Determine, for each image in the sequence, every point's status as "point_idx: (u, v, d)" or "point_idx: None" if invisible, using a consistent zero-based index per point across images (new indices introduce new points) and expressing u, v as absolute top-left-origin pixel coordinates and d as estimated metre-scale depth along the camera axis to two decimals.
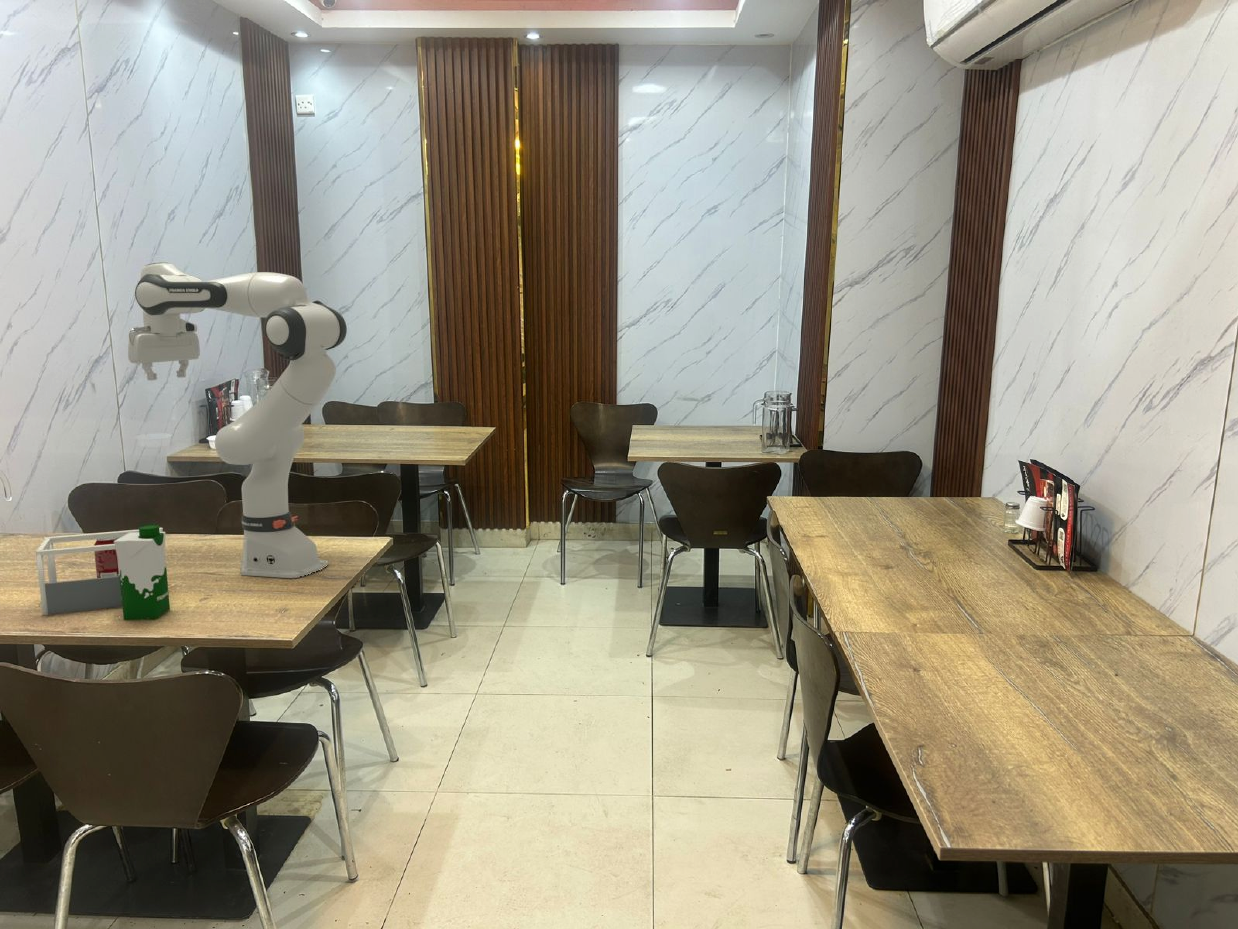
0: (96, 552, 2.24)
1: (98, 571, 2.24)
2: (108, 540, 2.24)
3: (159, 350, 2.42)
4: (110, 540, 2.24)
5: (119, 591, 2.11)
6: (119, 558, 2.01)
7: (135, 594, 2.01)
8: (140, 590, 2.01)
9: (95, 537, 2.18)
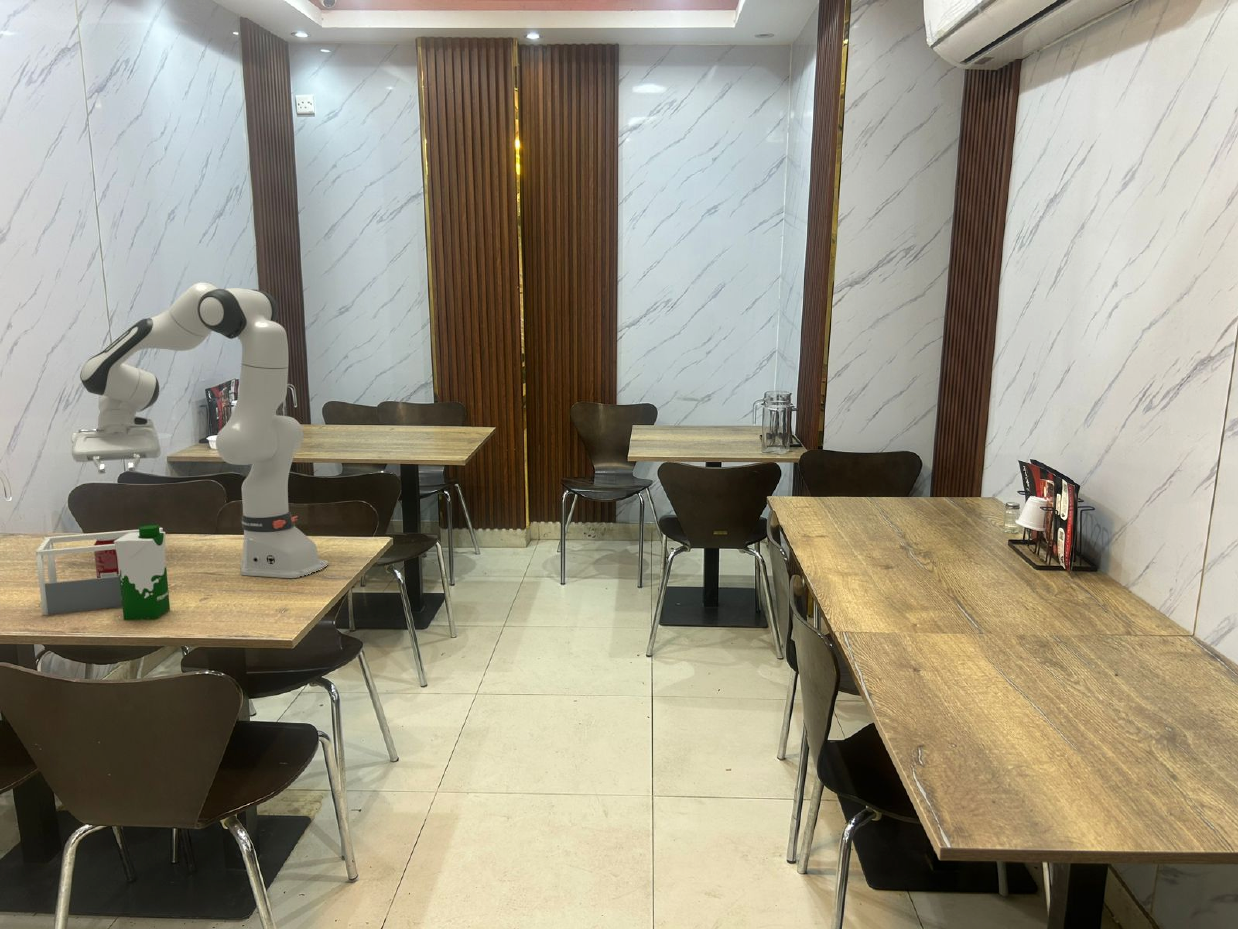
0: (96, 552, 2.24)
1: (98, 571, 2.24)
2: (108, 540, 2.24)
3: (101, 443, 2.39)
4: (110, 540, 2.24)
5: (119, 591, 2.11)
6: (119, 558, 2.01)
7: (135, 593, 2.01)
8: (140, 590, 2.01)
9: (95, 537, 2.18)
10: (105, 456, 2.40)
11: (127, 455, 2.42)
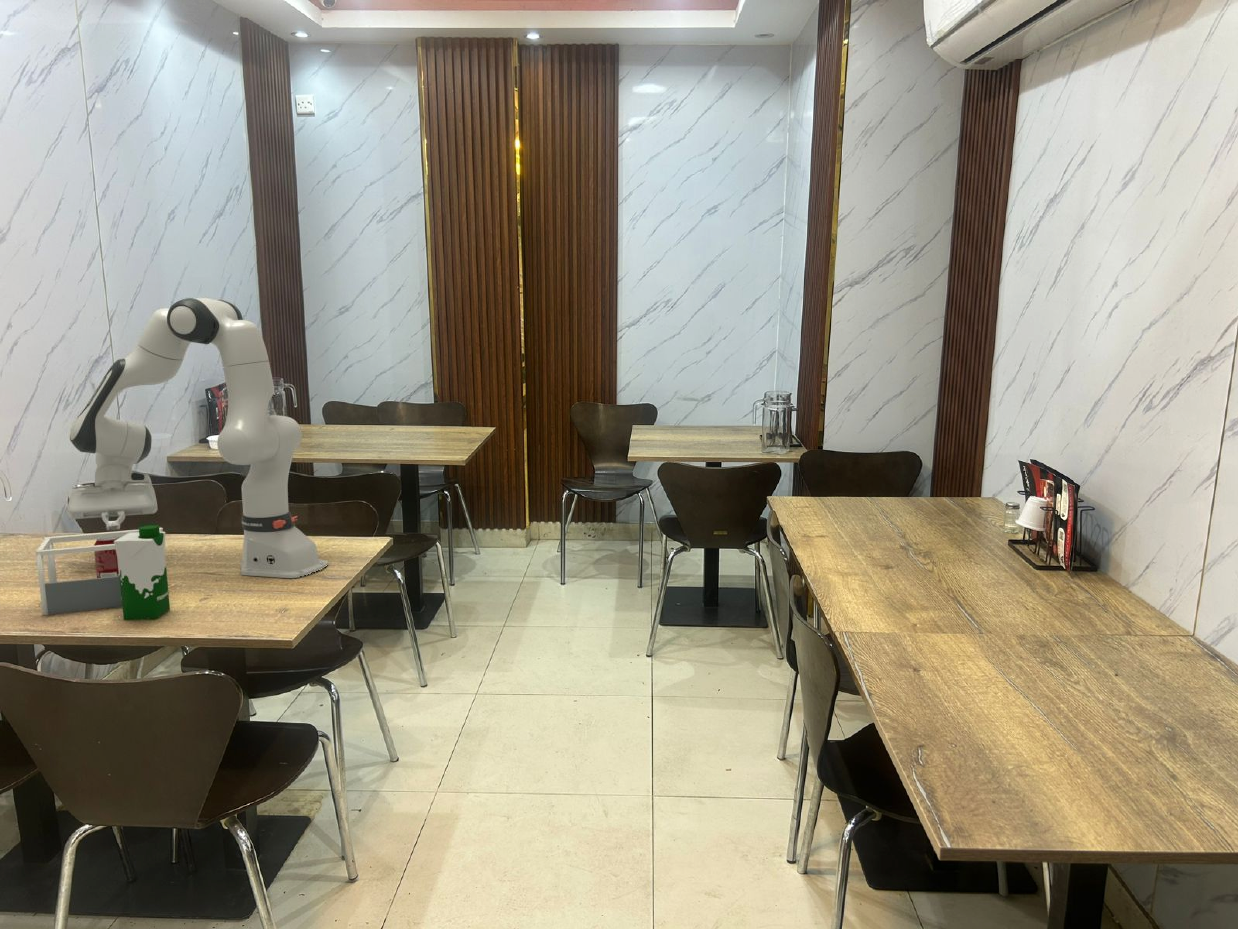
0: (96, 552, 2.24)
1: (98, 571, 2.24)
2: (108, 540, 2.24)
3: (98, 500, 2.37)
4: (110, 540, 2.24)
5: (119, 591, 2.11)
6: (119, 558, 2.01)
7: (135, 594, 2.01)
8: (140, 590, 2.01)
9: (95, 537, 2.18)
10: (101, 512, 2.38)
11: (124, 511, 2.40)
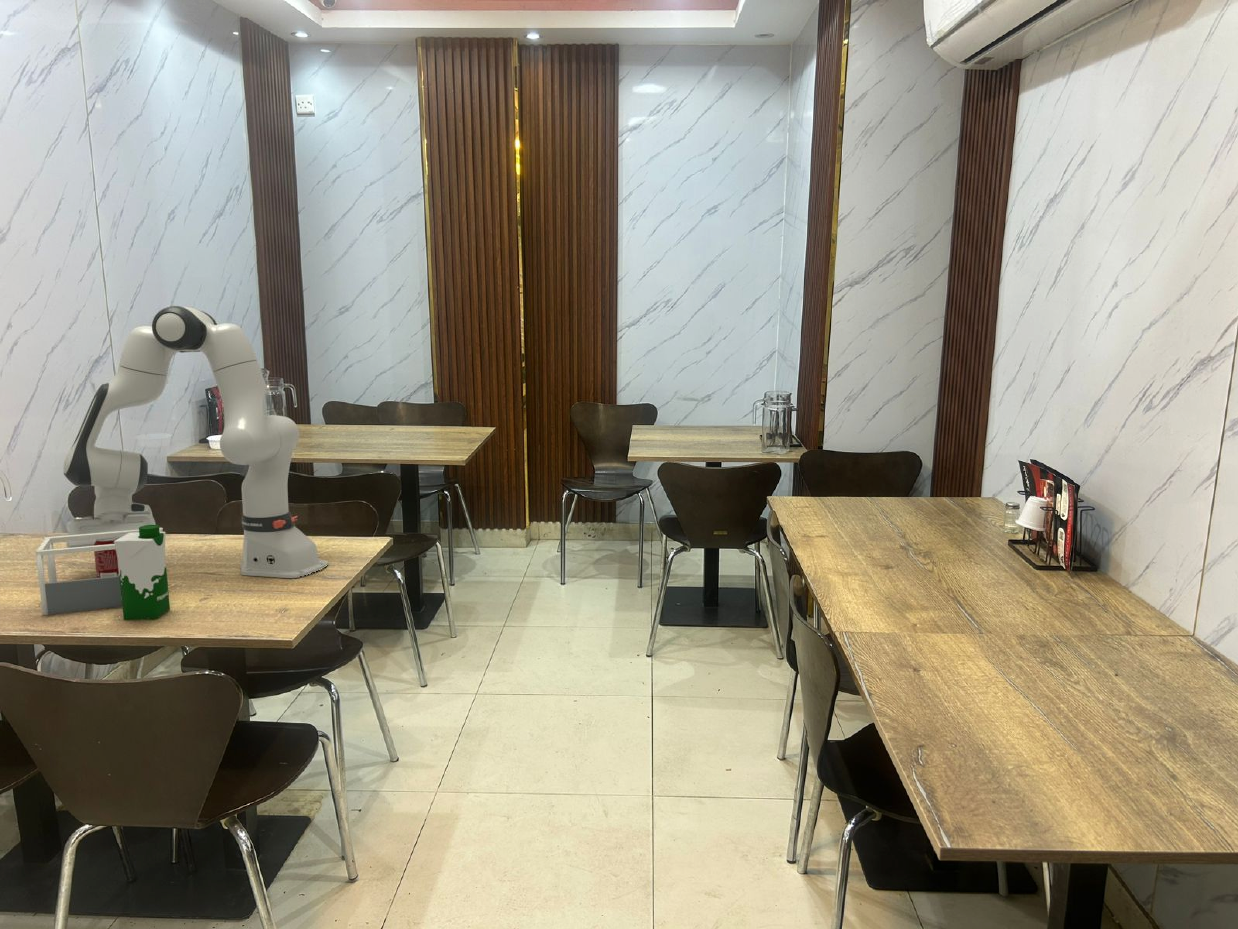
0: (96, 552, 2.23)
1: (98, 571, 2.24)
2: (108, 541, 2.23)
3: None
4: (110, 541, 2.23)
5: (119, 591, 2.11)
6: (119, 558, 2.01)
7: (135, 594, 2.01)
8: (140, 590, 2.01)
9: (95, 537, 2.18)
10: None
11: None
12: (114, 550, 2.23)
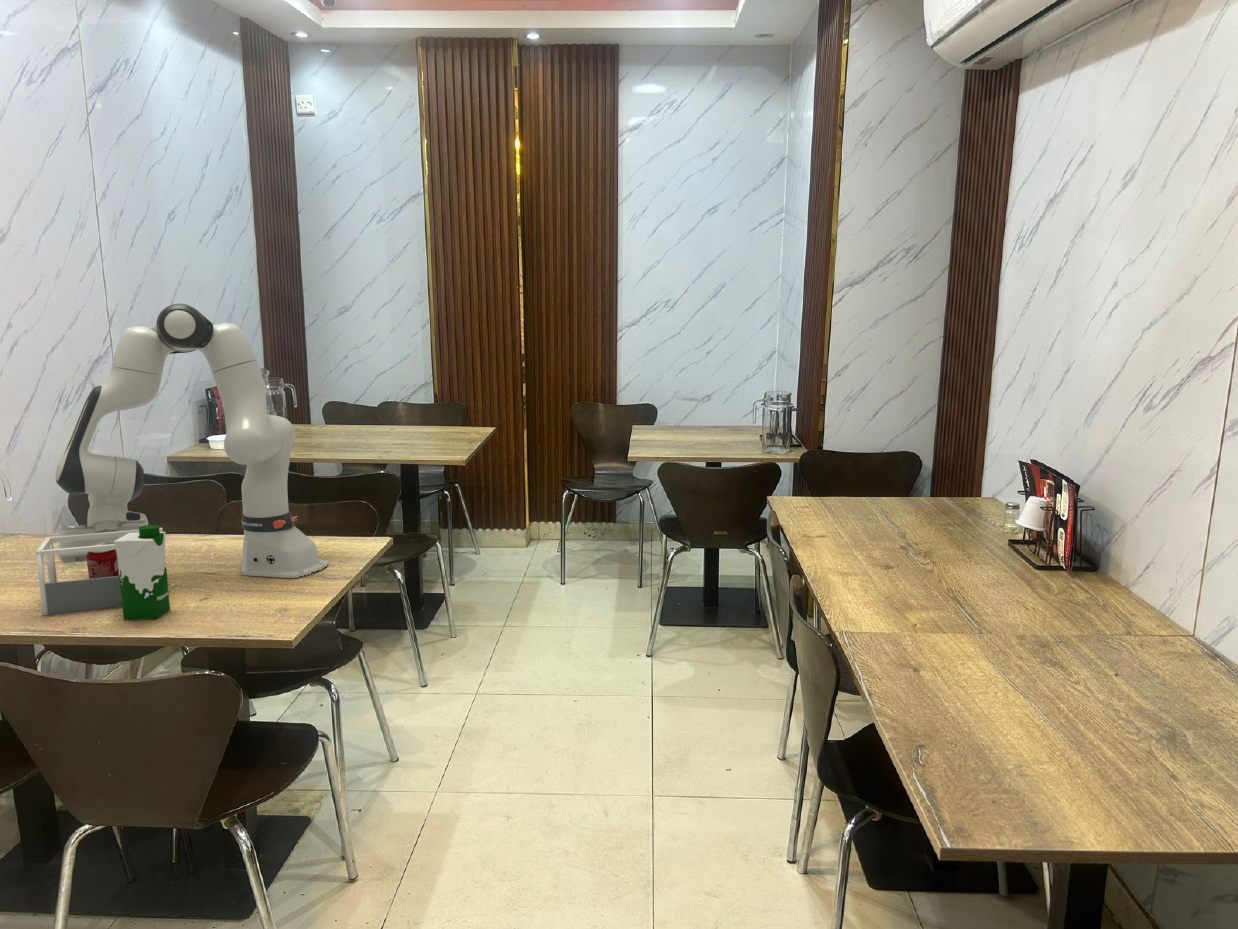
0: (89, 563, 2.14)
1: None
2: (101, 552, 2.13)
3: (90, 543, 2.21)
4: (103, 552, 2.13)
5: (119, 591, 2.11)
6: (119, 558, 2.01)
7: (135, 594, 2.01)
8: (140, 590, 2.01)
9: (95, 537, 2.18)
10: None
11: None
12: (108, 562, 2.14)
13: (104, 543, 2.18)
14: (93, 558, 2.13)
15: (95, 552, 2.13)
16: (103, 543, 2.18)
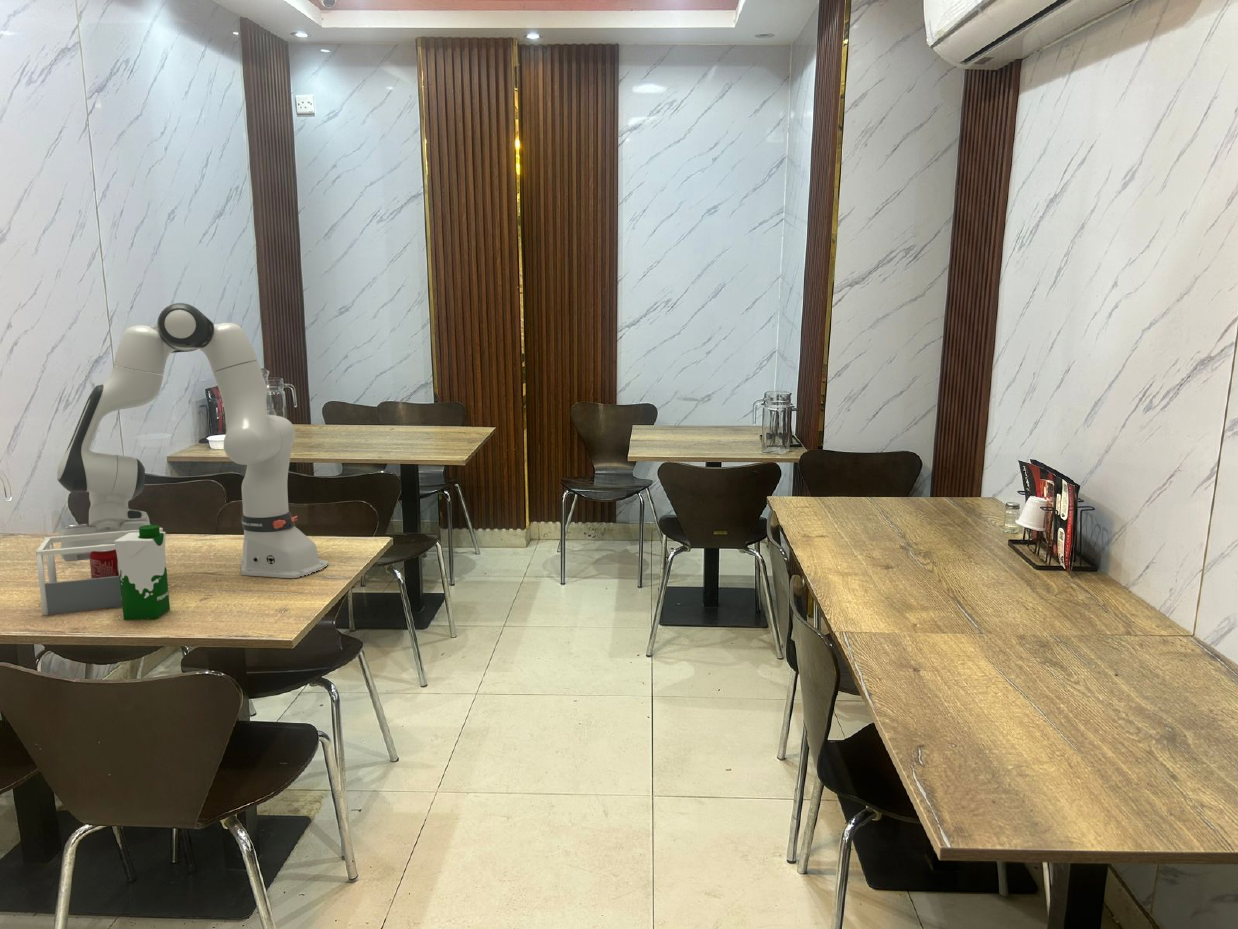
0: (92, 563, 2.14)
1: None
2: (105, 551, 2.14)
3: (92, 541, 2.22)
4: (107, 551, 2.14)
5: (119, 591, 2.11)
6: (119, 558, 2.01)
7: (135, 593, 2.01)
8: (140, 590, 2.01)
9: (95, 537, 2.18)
10: None
11: None
12: (111, 561, 2.14)
13: (107, 543, 2.18)
14: (96, 557, 2.13)
15: (98, 551, 2.13)
16: (106, 544, 2.18)
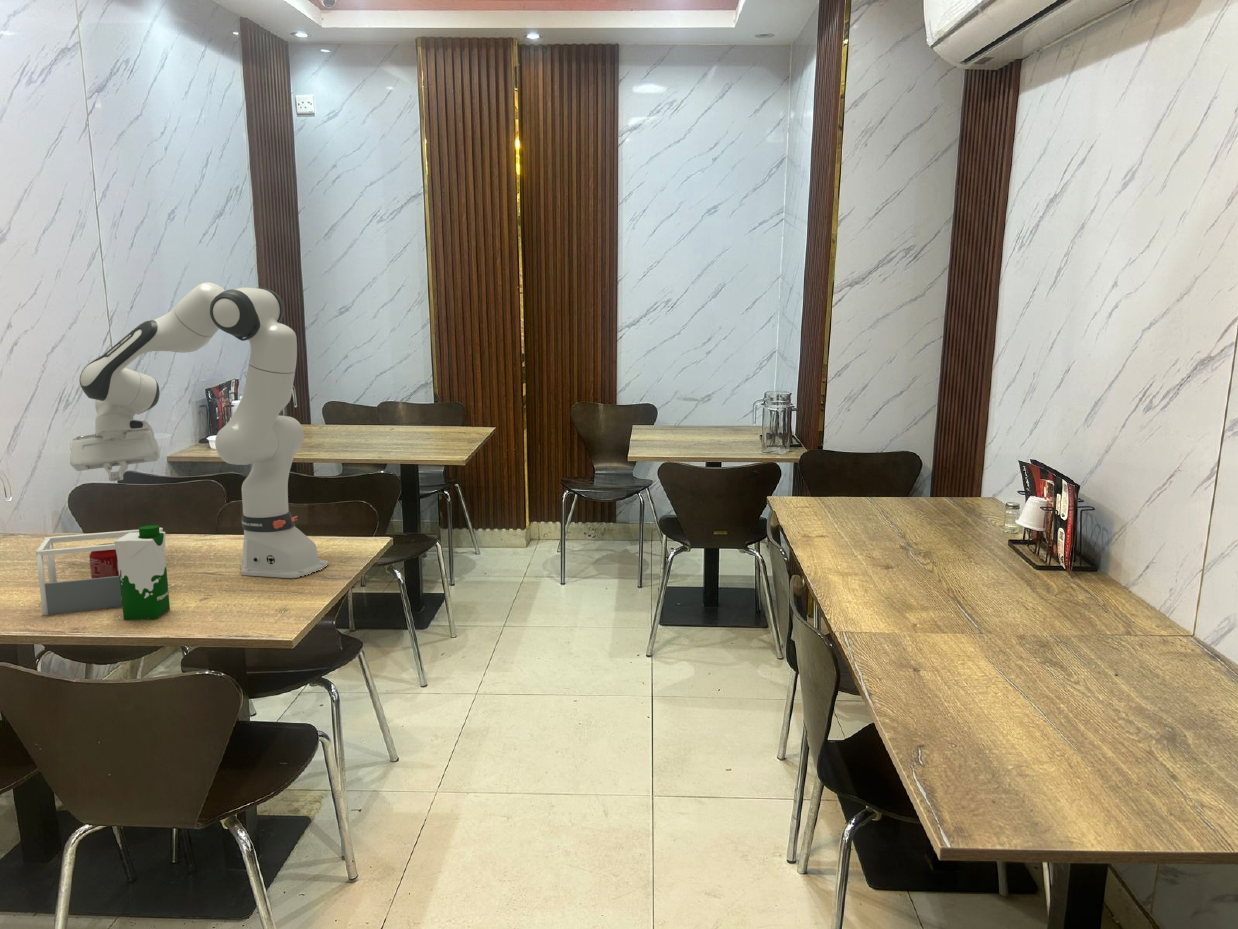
0: (92, 562, 2.15)
1: None
2: (104, 550, 2.15)
3: (99, 451, 2.35)
4: (107, 550, 2.15)
5: (119, 591, 2.11)
6: (119, 558, 2.01)
7: (135, 594, 2.01)
8: (140, 590, 2.01)
9: (95, 537, 2.18)
10: None
11: (126, 460, 2.38)
12: (111, 560, 2.15)
13: (107, 544, 2.20)
14: (96, 556, 2.14)
15: None
16: None
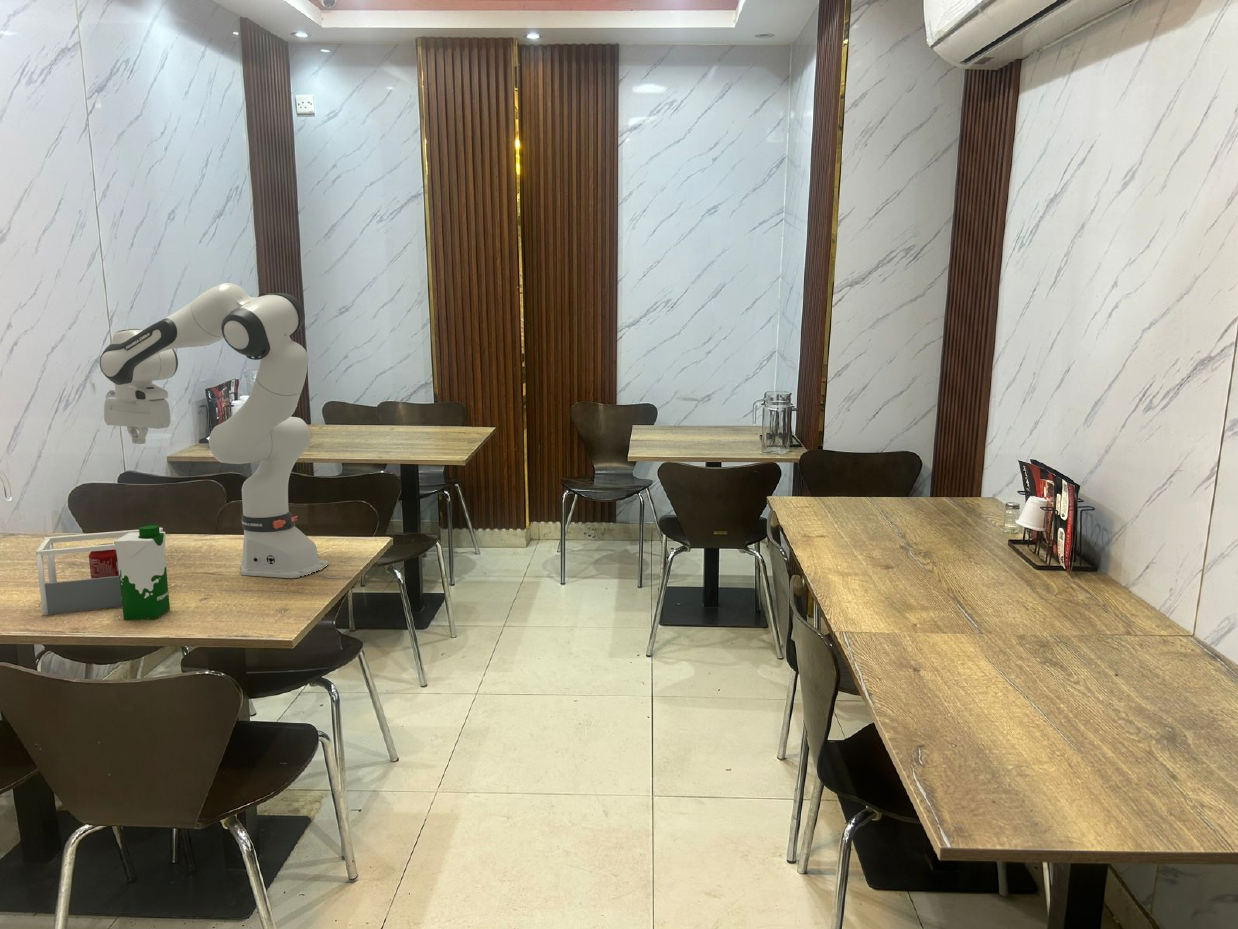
0: (91, 563, 2.15)
1: None
2: (104, 550, 2.15)
3: (121, 415, 2.44)
4: (106, 550, 2.15)
5: (119, 591, 2.11)
6: (119, 558, 2.01)
7: (135, 594, 2.01)
8: (140, 590, 2.01)
9: (95, 537, 2.18)
10: None
11: None
12: (110, 560, 2.15)
13: (106, 544, 2.19)
14: (95, 557, 2.14)
15: None
16: None
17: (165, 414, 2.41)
